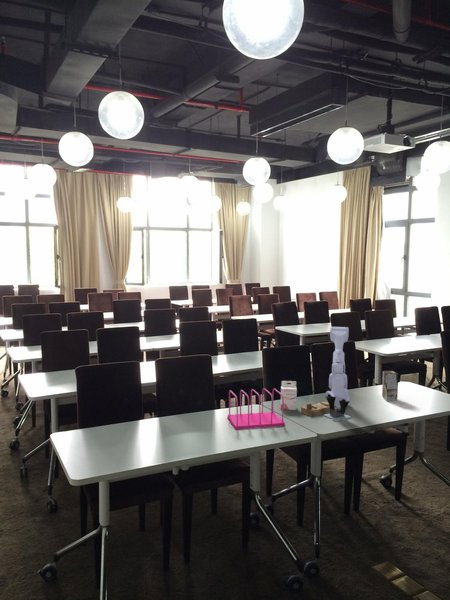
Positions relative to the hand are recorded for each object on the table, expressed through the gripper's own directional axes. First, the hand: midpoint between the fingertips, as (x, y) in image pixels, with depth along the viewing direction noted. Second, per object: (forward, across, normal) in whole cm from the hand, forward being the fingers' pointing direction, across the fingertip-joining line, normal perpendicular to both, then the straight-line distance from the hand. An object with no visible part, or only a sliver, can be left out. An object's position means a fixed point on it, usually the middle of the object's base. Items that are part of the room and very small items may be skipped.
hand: (337, 411), depth 258 cm
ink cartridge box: (+3, -24, -12) cm, 27 cm away
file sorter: (+3, -16, -40) cm, 44 cm away
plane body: (+3, -12, -2) cm, 12 cm away
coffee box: (+3, -6, +49) cm, 50 cm away
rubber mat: (+3, 0, 0) cm, 3 cm away
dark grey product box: (+2, 0, 0) cm, 2 cm away
